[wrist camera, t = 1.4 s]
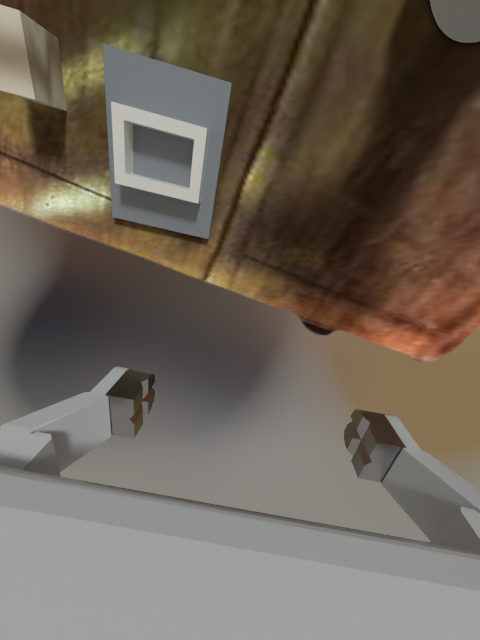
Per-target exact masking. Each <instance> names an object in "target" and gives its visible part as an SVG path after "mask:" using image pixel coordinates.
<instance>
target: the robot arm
mask: <svg viewBox="0 0 480 640" xmlns="http://www.w3.org/2000/svg"><path fill="white" fill-rule="evenodd" d="M430 5H431V9H432V13H433V16H434V18H435V21H436V23H437V25H438V26H439V28H440V29H441V30H442V32H443V33H444V34H445V35H447V36H448V37H449V38H451V39H453V40H455V41H458V42H463V43H474V42H479V41H480V0H430ZM154 383H155V375H154V374H153V373H148V372H143V371H138V370H133V369H127V368H122V367H115V368H113V369H112V370H111V371H110V372H109V373H108V374H107V375H106V376H105V377H104V378H103V379H102V380H101V382H100V383H99V384H97V386H96V387H95V388H94V389H93V390H92V391H91V392H90V393H89V392H84V393H82V394H79V395H77V396H74V397H72V398H69V399H67V400H64V401H61V402H59V403H56V404H54V405H51V406H49V407H46V408H44V409H41V410H39V411H36V412H34V413H31V414H29V415H26V416H24V417H21V418H19V419H16V420H14V421H11V422H9V423H6V424H4V425H2V426H1V427H0V640H480V492H479V491H478V490H476V489H475V488H474V487H472V486H471V485H470V484H468V483H467V482H466V481H464V480H463V479H462V478H460V477H459V476H458V475H456V474H455V473H453V472H452V471H451V470H450V469H448V468H447V467H445V466H444V465H443V464H441V463H440V462H439V461H437V460H436V459H435V458H433V457H432V456H431V455H429V454H428V453H427V452H423V451H421V449H420V448H419V447H418V445H417V444H416V442H415V441H414V440H413V438H412V437H411V435H410V434H409V433H408V431H407V430H406V428H405V427H404V426H403V424H402V423H401V421H400V420H399V419H398V418H397V417H396V416H395V415H390V414H383V413H375V412H369V411H364V410H358V409H355V410H354V411H353V413H352V415H351V418H352V422H351V423H349V424H347V426H346V428H345V431H344V441H345V445H346V448H347V450H348V451H349V452H350V453H351V454H352V455H353V458H352V460H351V461H352V463H353V466H354V469H355V471H356V474H357V476H358V478H362V479H367V480H372V481H377V482H381V484H382V485H383V487H384V488H385V489H386V490H387V491H388V492H389V493H390V494H391V496H392V497H393V498H394V499H395V500H396V502H397V503H398V504H399V505H400V506H401V507H402V509H403V510H404V511H405V512H406V513H407V514H408V515H409V517H410V518H411V519H412V520H413V521H414V522H415V523H416V525H417V526H418V527H419V528H420V529H421V531H422V532H423V533H424V534H425V535H426V536H427V537H428V539H429V540H430V541H431V542H430V543H429V542H423V541H417V540H412V539H406V538H401V537H395V536H390V535H384V534H378V533H373V532H367V531H361V530H355V529H350V528H344V527H339V526H332V525H327V524H322V523H316V522H310V521H305V520H298V519H293V518H288V517H282V516H277V515H271V514H265V513H260V512H254V511H249V510H243V509H238V508H232V507H226V506H221V505H215V504H210V503H204V502H199V501H193V500H188V499H182V498H176V497H171V496H165V495H159V494H154V493H148V492H143V491H137V490H131V489H126V488H120V487H115V486H109V485H103V484H98V483H92V482H86V481H81V480H75V479H70V478H64V477H60V472H61V471H62V470H63V469H65V468H66V467H68V466H69V465H71V464H72V463H74V462H75V461H76V460H78V459H79V458H81V457H82V456H84V455H85V454H86V453H88V452H89V451H91V450H92V449H94V448H95V447H96V446H98V445H99V444H101V443H102V442H104V441H105V440H106V439H108V438H109V437H111V435H117V436H124V437H131V438H135V436H136V435H137V433H138V431H139V430H140V428H141V426H142V424H143V417H145V416H147V415H148V414H149V412H150V410H151V408H152V405H153V402H154V397H155V390H154V389H153V388H152V386H153V385H154Z"/></svg>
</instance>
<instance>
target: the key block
mask: <svg viewBox="0 0 480 640" xmlns="http://www.w3.org/2000/svg"><path fill="white" fill-rule="evenodd" d="M0 90H1V91H4V92H6V93H9V94H12V95H15V96H18V97H21V98H24V99H27V100H30V101H33V102H35V103H39V104H43V105H46V106H50V107H54V108H57V109H61V110H65V111H67V108H66V100H65V92H64V84H63V76H62V68H61V60H60V52H59V44H58V38H56V37H55V36H53V35H52V34H51V33H49V32H48V31H47V30H45V29H44V28H43V27H41V26H40V25H38V24H37V23H36V22H34V21H33V20H32V19H30V18H29V17H28V16H26V15H25V14H23V13H22V12H21V11H19V10H16V9H13V8H9V7H6V6H3V5H0Z"/></svg>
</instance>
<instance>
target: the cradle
mask: <svg viewBox="0 0 480 640" xmlns="http://www.w3.org/2000/svg"><path fill="white" fill-rule="evenodd" d="M103 58H104V76H105V94H106V111H107V129H108V147H109V165H110V183H111V200H112V217H114V218H119V219H123V220H127V221H132V222H136V223H140V224H145V225H149V226H153V227H158V228H162V229H166V230H171V231H175V232H180V233H184V234H188V235H193V236H197V237H201V238H206V239H209V236H210V229H211V223H212V216H213V209H214V203H215V196H216V190H217V183H218V176H219V170H220V163H221V156H222V150H223V143H224V136H225V130H226V123H227V117H228V110H229V103H230V97H231V90H232V83H230V82H227V81H223V80H220V79H217V78H213V77H210V76H207V75H204V74H200V73H197V72H194V71H191V70H187V69H184V68H181V67H178V66H174V65H171V64H168V63H164V62H161V61H158V60H155V59H151V58H148V57H145V56H142V55H138V54H135V53H132V52H129V51H125V50H122V49H119V48H115V47H112V46H109V45H106V44H103Z"/></svg>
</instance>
